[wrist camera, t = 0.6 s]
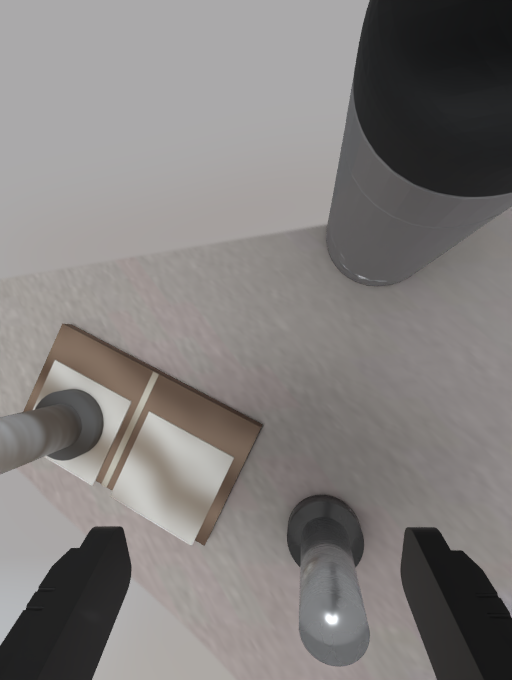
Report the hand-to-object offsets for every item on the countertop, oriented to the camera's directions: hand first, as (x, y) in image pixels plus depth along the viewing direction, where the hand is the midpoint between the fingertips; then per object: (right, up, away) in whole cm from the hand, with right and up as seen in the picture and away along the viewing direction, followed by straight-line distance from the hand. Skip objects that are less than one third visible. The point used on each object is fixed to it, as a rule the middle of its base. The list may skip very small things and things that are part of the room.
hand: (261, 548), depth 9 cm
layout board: (-12, -3, +23) cm, 26 cm away
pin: (+6, -11, +20) cm, 24 cm away
